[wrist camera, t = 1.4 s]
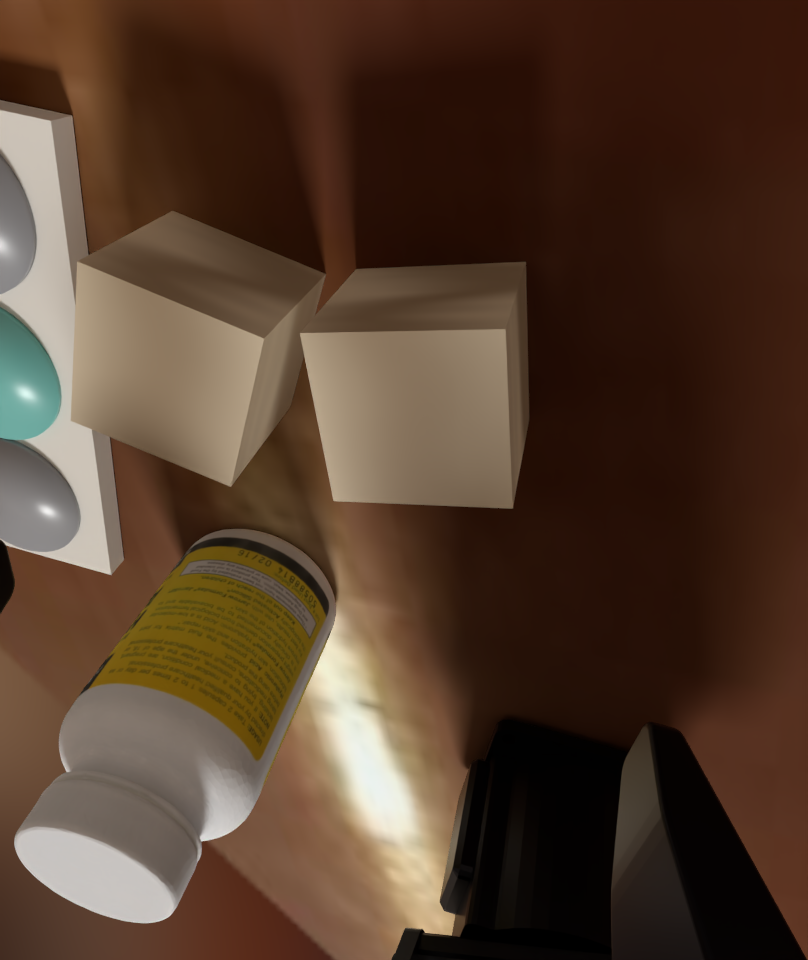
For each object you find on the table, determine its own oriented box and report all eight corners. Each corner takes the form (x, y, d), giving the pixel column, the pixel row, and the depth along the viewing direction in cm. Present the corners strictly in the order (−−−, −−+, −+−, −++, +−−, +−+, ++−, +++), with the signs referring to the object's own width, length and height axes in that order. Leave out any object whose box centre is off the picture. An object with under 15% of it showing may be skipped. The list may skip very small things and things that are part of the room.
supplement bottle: (176, 507, 23) (-48, 780, 15) (340, 540, 22) (193, 847, 14) (195, 626, 26) (16, 904, 18) (338, 659, 25) (217, 964, 17)
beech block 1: (326, 272, 18) (264, 338, 14) (291, 405, 20) (230, 486, 17) (174, 209, 18) (77, 261, 14) (157, 349, 20) (71, 420, 17)
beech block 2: (526, 260, 16) (505, 328, 13) (529, 417, 19) (512, 508, 15) (357, 267, 17) (299, 333, 14) (379, 415, 20) (333, 500, 16)
